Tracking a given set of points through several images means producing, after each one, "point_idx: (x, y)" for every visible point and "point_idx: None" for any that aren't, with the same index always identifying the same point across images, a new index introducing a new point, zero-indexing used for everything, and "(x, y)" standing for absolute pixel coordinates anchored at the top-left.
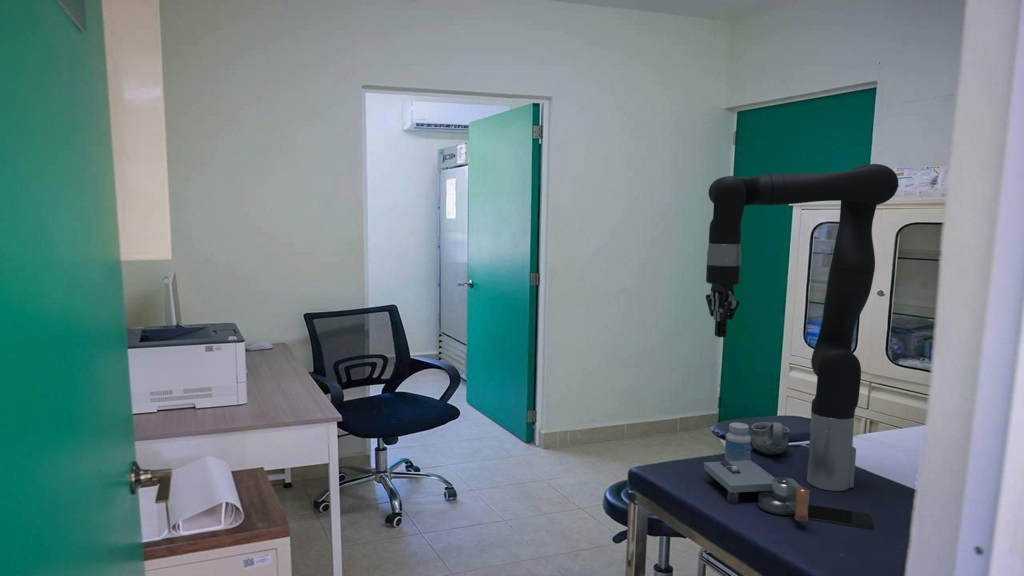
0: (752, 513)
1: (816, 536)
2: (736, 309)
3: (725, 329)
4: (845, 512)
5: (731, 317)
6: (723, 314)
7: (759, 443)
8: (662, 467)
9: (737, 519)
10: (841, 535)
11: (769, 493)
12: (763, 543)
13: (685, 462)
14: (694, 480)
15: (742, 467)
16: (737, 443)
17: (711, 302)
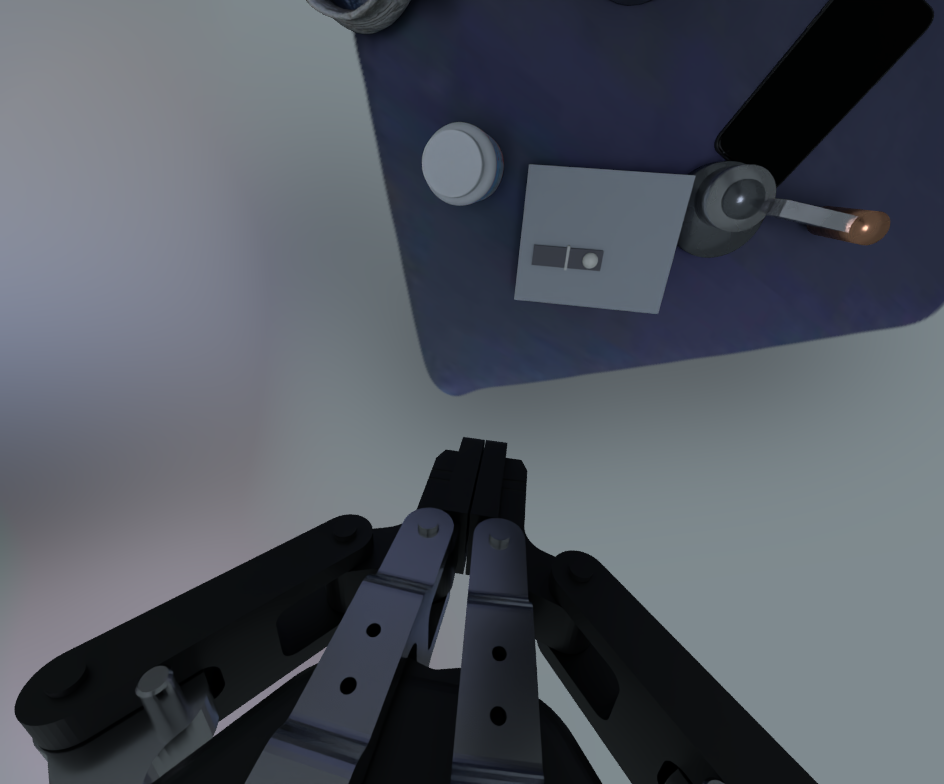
0: (705, 282)
1: None
2: (739, 707)
3: (523, 493)
4: (826, 38)
5: (614, 592)
6: (604, 683)
7: (385, 23)
8: (438, 341)
9: (713, 327)
10: (894, 144)
11: (687, 216)
12: (818, 337)
13: (417, 278)
14: (517, 311)
15: (569, 220)
16: (489, 188)
17: (235, 691)
